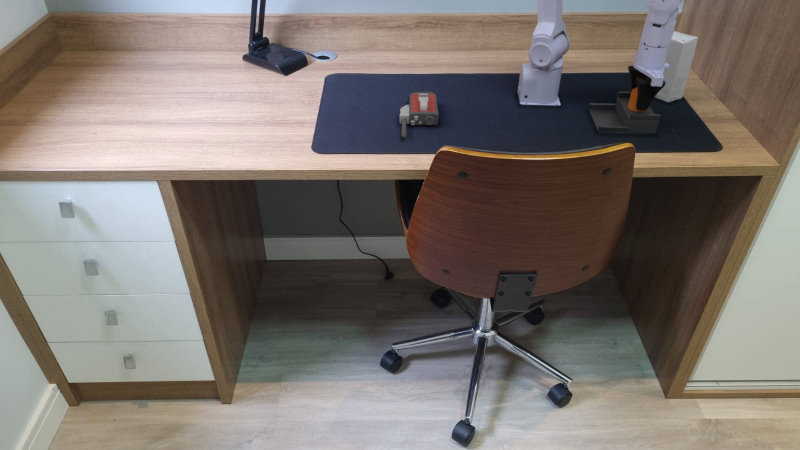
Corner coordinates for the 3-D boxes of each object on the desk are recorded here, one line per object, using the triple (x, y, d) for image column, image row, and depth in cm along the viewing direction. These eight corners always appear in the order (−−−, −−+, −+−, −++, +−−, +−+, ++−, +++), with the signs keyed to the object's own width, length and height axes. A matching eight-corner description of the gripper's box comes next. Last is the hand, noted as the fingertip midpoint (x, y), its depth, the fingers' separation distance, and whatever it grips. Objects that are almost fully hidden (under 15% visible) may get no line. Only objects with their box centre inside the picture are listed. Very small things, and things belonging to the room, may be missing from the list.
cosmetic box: (682, 98, 136) (701, 37, 127) (666, 105, 133) (685, 42, 124) (652, 87, 141) (669, 27, 132) (637, 92, 139) (653, 32, 130)
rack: (597, 134, 122) (602, 114, 119) (587, 110, 131) (591, 90, 128) (654, 135, 121) (660, 115, 118) (640, 111, 131) (645, 91, 128)
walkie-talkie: (400, 102, 136) (398, 142, 120) (400, 84, 133) (398, 123, 117) (436, 102, 135) (440, 142, 119) (437, 84, 133) (440, 123, 117)
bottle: (630, 111, 122) (636, 87, 119) (625, 103, 126) (631, 79, 122) (649, 112, 122) (656, 87, 119) (644, 104, 125) (651, 80, 122)
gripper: (686, 56, 109) (667, 119, 117) (664, 31, 121) (647, 91, 129) (649, 55, 110) (632, 119, 118) (630, 31, 121) (616, 90, 129)
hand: (638, 104), depth 123 cm, fingers open, 5 cm apart
